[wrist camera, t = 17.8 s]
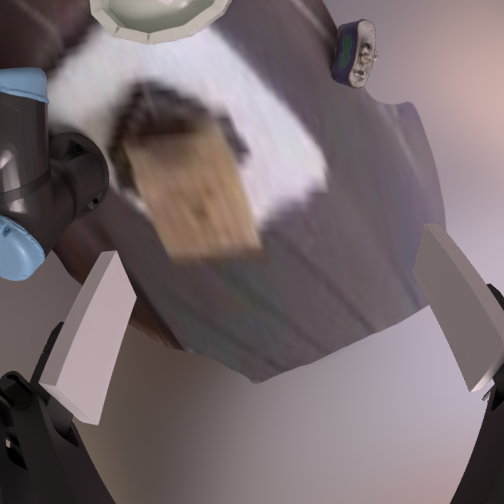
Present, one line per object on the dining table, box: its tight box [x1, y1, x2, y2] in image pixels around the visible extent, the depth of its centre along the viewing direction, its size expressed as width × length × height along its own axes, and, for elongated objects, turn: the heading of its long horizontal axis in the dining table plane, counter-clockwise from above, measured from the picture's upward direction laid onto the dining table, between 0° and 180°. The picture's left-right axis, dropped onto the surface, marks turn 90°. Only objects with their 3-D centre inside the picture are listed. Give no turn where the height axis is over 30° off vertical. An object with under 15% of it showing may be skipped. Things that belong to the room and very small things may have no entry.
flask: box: [331, 19, 378, 88], centre depth 31 cm, size 9×3×11 cm, turn 174°
